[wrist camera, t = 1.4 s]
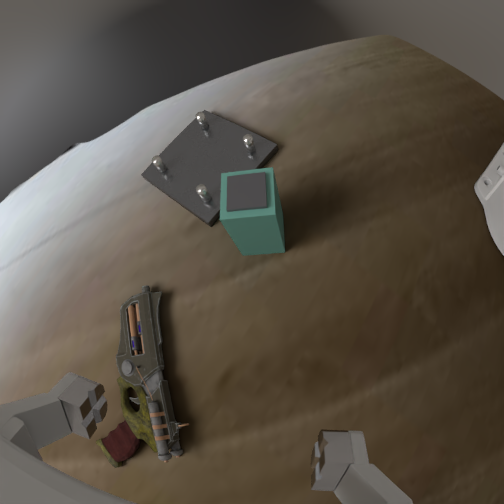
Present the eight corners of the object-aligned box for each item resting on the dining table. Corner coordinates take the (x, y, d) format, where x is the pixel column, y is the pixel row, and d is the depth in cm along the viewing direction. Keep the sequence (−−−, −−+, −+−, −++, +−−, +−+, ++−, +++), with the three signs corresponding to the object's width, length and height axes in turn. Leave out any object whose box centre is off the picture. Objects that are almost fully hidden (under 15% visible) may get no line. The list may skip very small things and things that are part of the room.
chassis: (206, 114, 47) (199, 99, 43) (278, 149, 42) (274, 132, 39) (144, 178, 45) (133, 165, 41) (210, 226, 40) (201, 214, 36)
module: (242, 217, 40) (220, 171, 30) (282, 213, 39) (272, 164, 29) (242, 255, 38) (218, 217, 28) (285, 252, 37) (274, 212, 27)
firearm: (92, 468, 29) (190, 474, 26) (69, 306, 38) (154, 276, 35) (112, 463, 33) (207, 464, 30) (89, 311, 42) (172, 285, 39)
